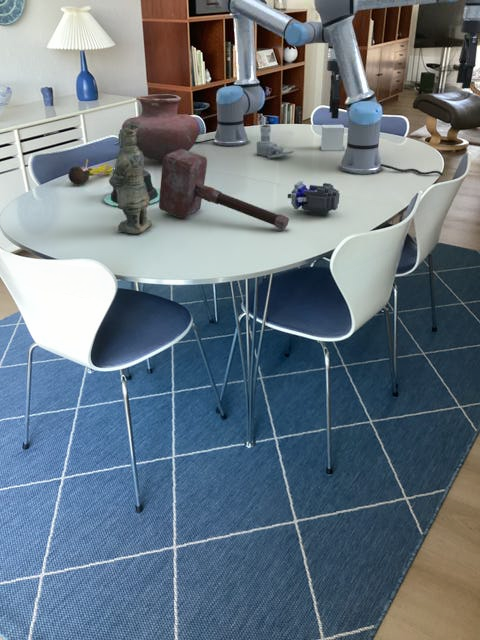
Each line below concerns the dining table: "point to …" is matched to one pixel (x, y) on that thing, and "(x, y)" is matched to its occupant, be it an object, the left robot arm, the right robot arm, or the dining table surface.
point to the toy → (315, 198)
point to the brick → (332, 137)
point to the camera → (268, 144)
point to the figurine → (87, 173)
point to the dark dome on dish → (152, 192)
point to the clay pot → (163, 127)
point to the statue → (131, 182)
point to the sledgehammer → (200, 190)
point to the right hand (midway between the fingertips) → (462, 85)
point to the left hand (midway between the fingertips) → (333, 115)
